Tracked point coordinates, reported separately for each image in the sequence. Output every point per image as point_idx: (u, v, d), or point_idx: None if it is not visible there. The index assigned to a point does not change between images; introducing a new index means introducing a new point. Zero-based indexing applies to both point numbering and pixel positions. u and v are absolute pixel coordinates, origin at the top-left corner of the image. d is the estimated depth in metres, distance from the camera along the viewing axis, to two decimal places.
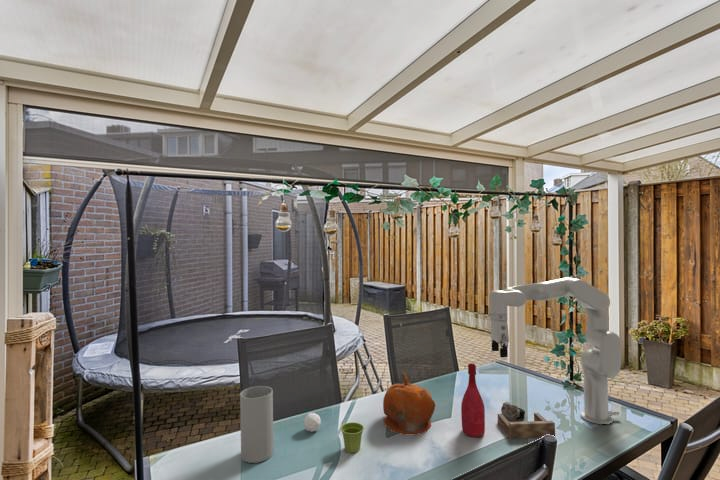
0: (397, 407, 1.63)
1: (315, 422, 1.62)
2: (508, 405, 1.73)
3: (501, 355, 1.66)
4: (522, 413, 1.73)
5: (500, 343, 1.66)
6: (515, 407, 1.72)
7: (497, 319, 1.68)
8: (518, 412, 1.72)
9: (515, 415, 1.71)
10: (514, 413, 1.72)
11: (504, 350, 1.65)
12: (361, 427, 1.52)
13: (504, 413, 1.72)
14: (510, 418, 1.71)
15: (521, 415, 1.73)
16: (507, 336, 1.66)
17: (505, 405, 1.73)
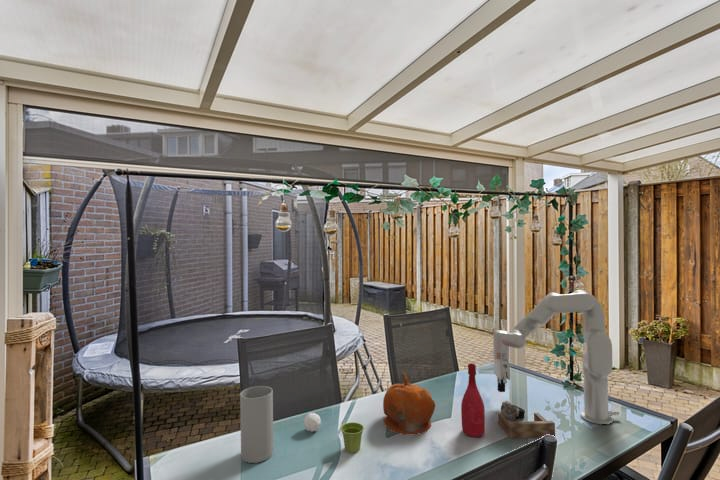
0: (397, 407, 1.63)
1: (315, 422, 1.62)
2: (507, 404, 1.73)
3: (499, 390, 1.86)
4: (522, 413, 1.73)
5: (500, 380, 1.85)
6: (514, 406, 1.73)
7: (500, 358, 1.84)
8: (517, 411, 1.72)
9: (514, 414, 1.72)
10: (513, 412, 1.72)
11: (502, 386, 1.86)
12: (361, 427, 1.52)
13: (503, 412, 1.73)
14: (509, 417, 1.72)
15: (520, 415, 1.73)
16: (509, 374, 1.82)
17: (504, 404, 1.74)
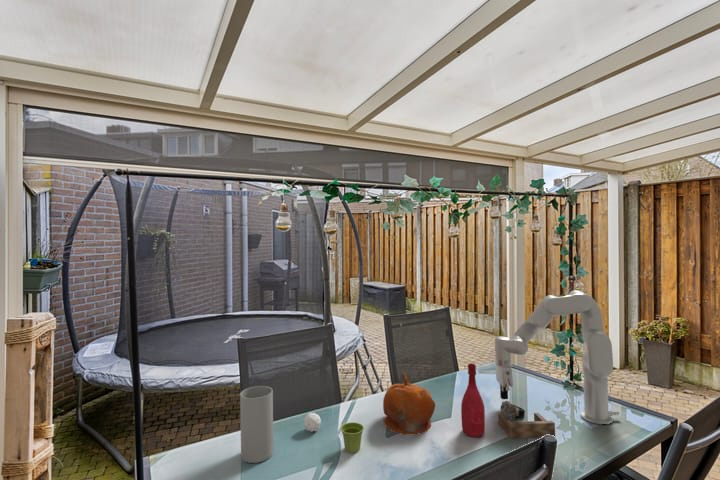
0: (397, 407, 1.63)
1: (315, 422, 1.62)
2: (507, 404, 1.74)
3: (502, 397, 1.84)
4: (521, 412, 1.73)
5: (502, 387, 1.83)
6: (514, 406, 1.73)
7: (502, 364, 1.82)
8: (517, 411, 1.73)
9: (514, 414, 1.72)
10: (513, 412, 1.73)
11: (505, 393, 1.84)
12: (361, 427, 1.52)
13: (503, 412, 1.74)
14: (509, 417, 1.73)
15: (520, 414, 1.73)
16: (511, 381, 1.80)
17: (504, 404, 1.74)
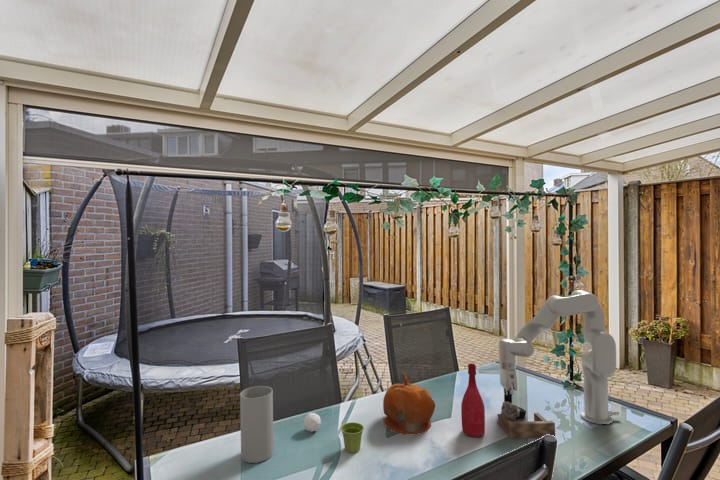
0: (397, 407, 1.63)
1: (315, 422, 1.62)
2: (508, 404, 1.73)
3: None
4: (522, 413, 1.72)
5: (506, 391, 1.78)
6: (515, 407, 1.72)
7: (506, 368, 1.77)
8: (518, 412, 1.72)
9: (515, 415, 1.71)
10: (514, 413, 1.72)
11: (509, 397, 1.78)
12: (361, 427, 1.52)
13: (504, 412, 1.73)
14: (510, 417, 1.72)
15: (521, 415, 1.72)
16: (515, 384, 1.75)
17: (505, 404, 1.73)
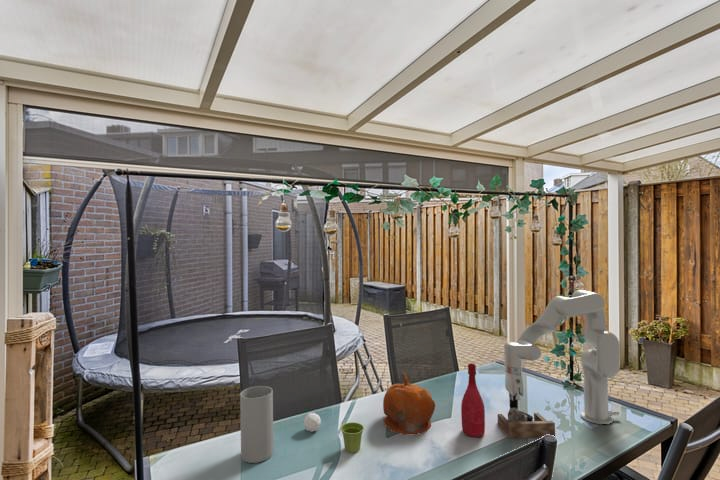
0: (397, 407, 1.63)
1: (315, 422, 1.62)
2: (515, 411, 1.66)
3: (511, 407, 1.73)
4: (530, 419, 1.66)
5: (512, 396, 1.72)
6: (522, 413, 1.66)
7: (512, 372, 1.70)
8: (525, 418, 1.65)
9: (522, 421, 1.65)
10: (521, 419, 1.65)
11: (514, 402, 1.72)
12: (361, 427, 1.52)
13: (510, 419, 1.66)
14: None
15: None
16: (522, 389, 1.69)
17: (512, 411, 1.67)
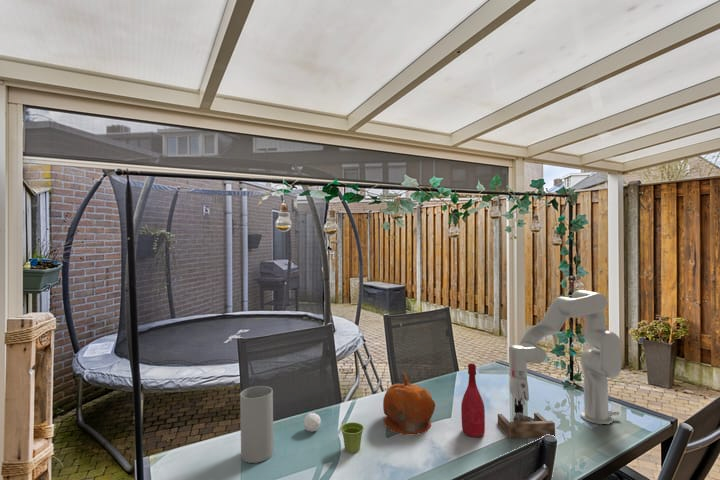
0: (397, 407, 1.63)
1: (315, 422, 1.62)
2: (521, 416, 1.61)
3: (517, 412, 1.68)
4: None
5: (517, 401, 1.67)
6: (528, 418, 1.61)
7: (517, 376, 1.66)
8: None
9: None
10: None
11: (520, 407, 1.67)
12: (361, 427, 1.52)
13: None
14: None
15: None
16: (527, 394, 1.64)
17: (518, 416, 1.62)
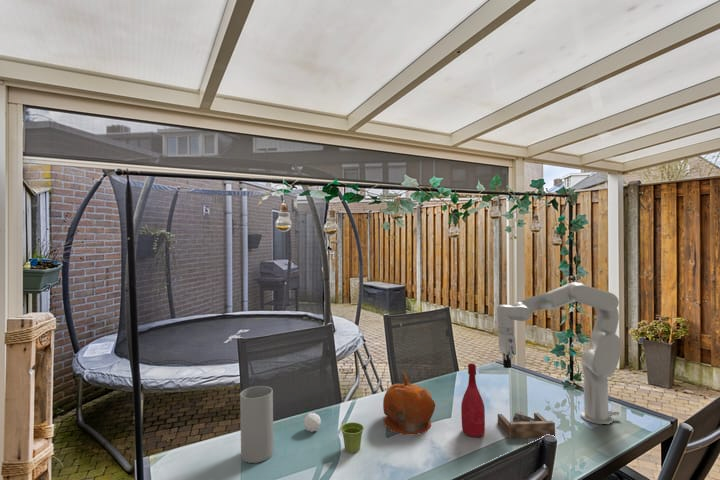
0: (397, 407, 1.63)
1: (315, 422, 1.62)
2: (520, 415, 1.62)
3: (505, 366, 1.80)
4: None
5: (505, 356, 1.79)
6: (528, 418, 1.61)
7: (505, 332, 1.78)
8: None
9: None
10: None
11: (508, 361, 1.80)
12: (361, 427, 1.52)
13: None
14: None
15: None
16: (514, 348, 1.76)
17: (517, 415, 1.62)
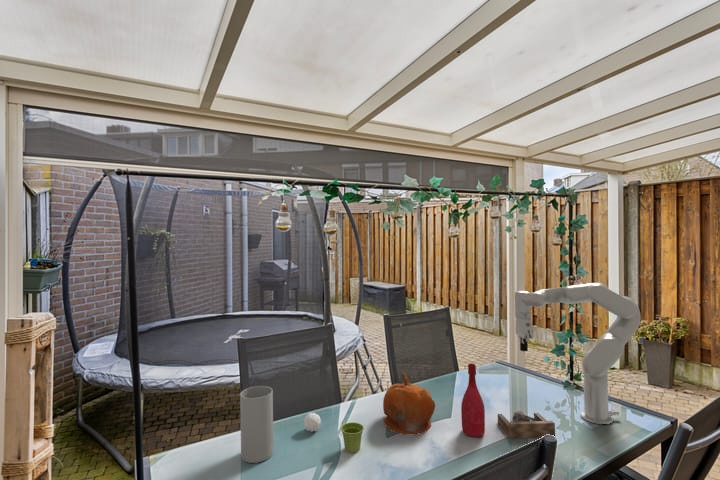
0: (397, 407, 1.63)
1: (315, 422, 1.62)
2: (520, 415, 1.63)
3: (522, 349, 1.89)
4: None
5: (522, 339, 1.88)
6: (527, 417, 1.62)
7: (522, 317, 1.87)
8: None
9: None
10: None
11: (525, 345, 1.88)
12: (361, 427, 1.52)
13: None
14: None
15: None
16: (531, 332, 1.85)
17: (516, 415, 1.63)
